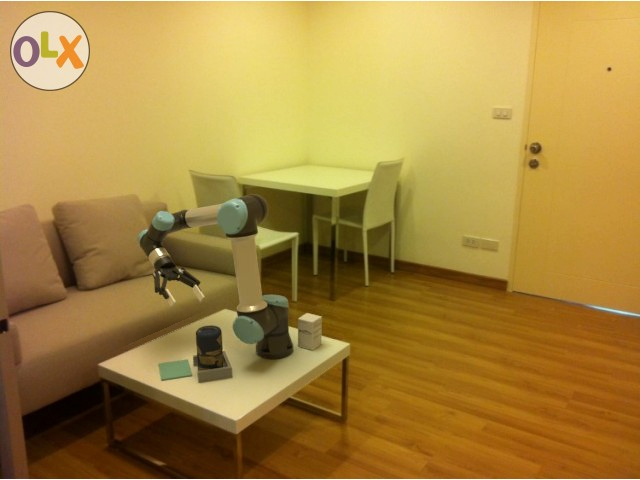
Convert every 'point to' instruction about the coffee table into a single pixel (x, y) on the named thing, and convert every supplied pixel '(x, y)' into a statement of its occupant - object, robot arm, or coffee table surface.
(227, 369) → the frame
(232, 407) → the coffee table surface
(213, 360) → the canister
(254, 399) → the coffee table surface
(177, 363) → the mat
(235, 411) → the coffee table surface
